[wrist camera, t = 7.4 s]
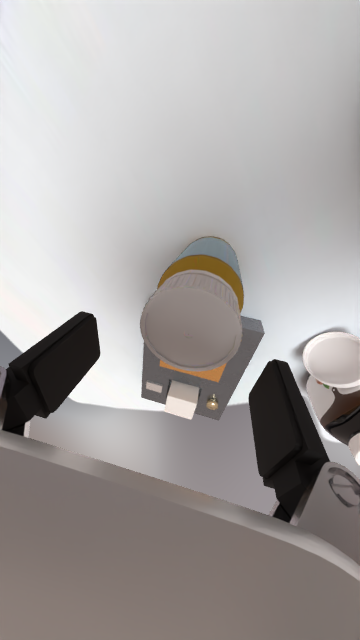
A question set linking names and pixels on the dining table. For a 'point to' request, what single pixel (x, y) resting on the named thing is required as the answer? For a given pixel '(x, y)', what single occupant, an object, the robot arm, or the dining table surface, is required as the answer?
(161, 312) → the bottle
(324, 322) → the dining table surface
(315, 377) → the spread jar
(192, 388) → the switch
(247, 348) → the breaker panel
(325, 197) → the dining table surface
